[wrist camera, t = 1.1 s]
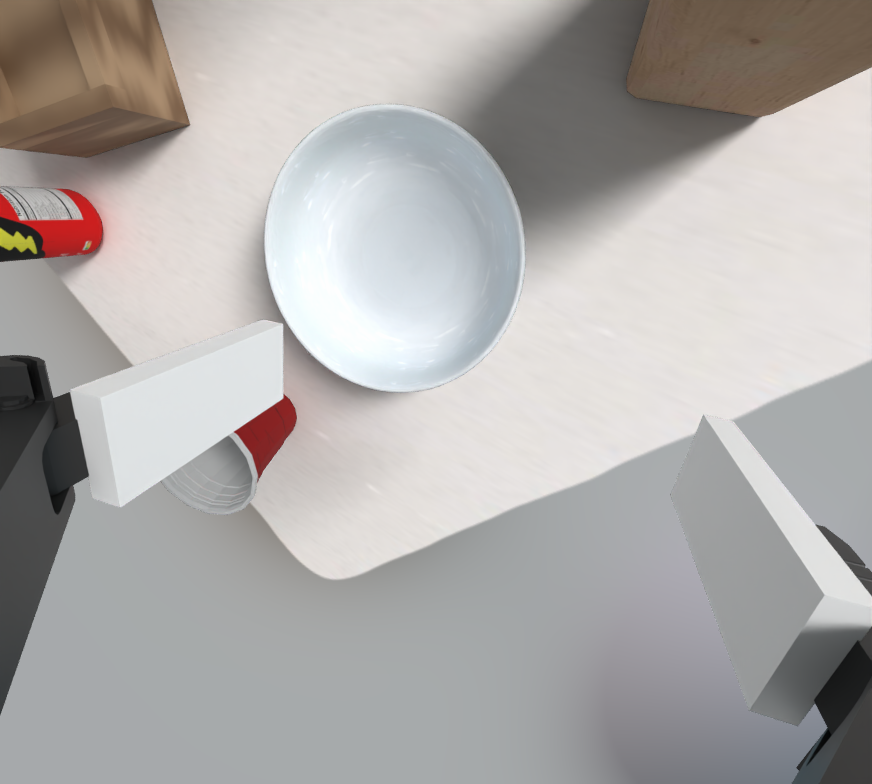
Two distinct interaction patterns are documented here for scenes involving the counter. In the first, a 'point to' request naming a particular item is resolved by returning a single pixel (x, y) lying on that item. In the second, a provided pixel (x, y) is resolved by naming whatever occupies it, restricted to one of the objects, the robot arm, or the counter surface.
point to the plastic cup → (233, 463)
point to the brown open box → (84, 76)
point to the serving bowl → (394, 247)
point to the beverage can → (46, 223)
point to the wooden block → (748, 52)
